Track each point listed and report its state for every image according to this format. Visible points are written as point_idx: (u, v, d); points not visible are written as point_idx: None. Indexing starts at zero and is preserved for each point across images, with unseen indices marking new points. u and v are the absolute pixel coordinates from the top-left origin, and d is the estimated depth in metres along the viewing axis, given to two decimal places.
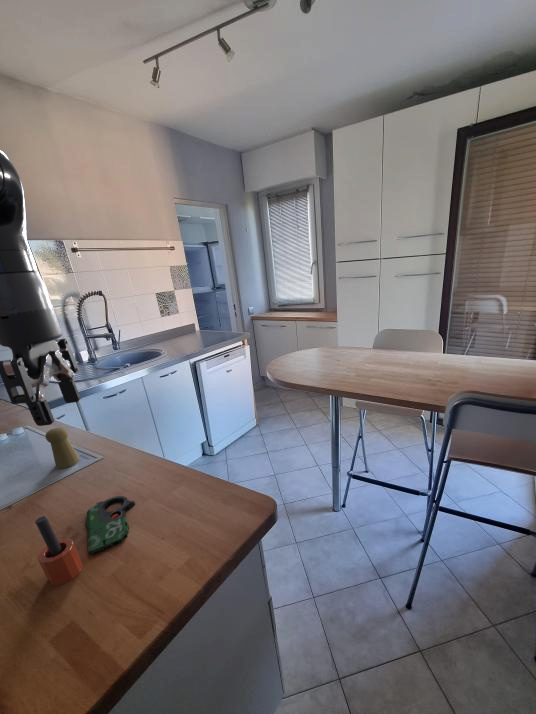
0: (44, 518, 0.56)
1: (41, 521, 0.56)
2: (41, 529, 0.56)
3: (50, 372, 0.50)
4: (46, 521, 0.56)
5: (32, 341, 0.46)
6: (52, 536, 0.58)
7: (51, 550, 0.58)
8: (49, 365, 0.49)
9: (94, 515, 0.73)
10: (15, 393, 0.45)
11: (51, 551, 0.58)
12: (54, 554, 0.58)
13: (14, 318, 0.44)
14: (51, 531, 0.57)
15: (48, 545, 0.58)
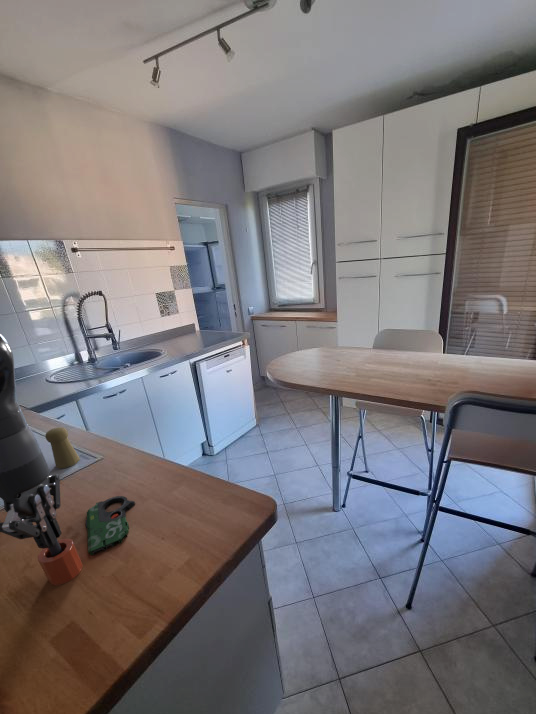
0: (44, 518, 0.56)
1: None
2: None
3: None
4: (46, 521, 0.56)
5: (21, 491, 0.50)
6: None
7: (51, 550, 0.58)
8: (40, 502, 0.54)
9: (94, 515, 0.73)
10: None
11: (51, 551, 0.58)
12: (54, 554, 0.58)
13: (5, 475, 0.49)
14: (51, 531, 0.57)
15: None
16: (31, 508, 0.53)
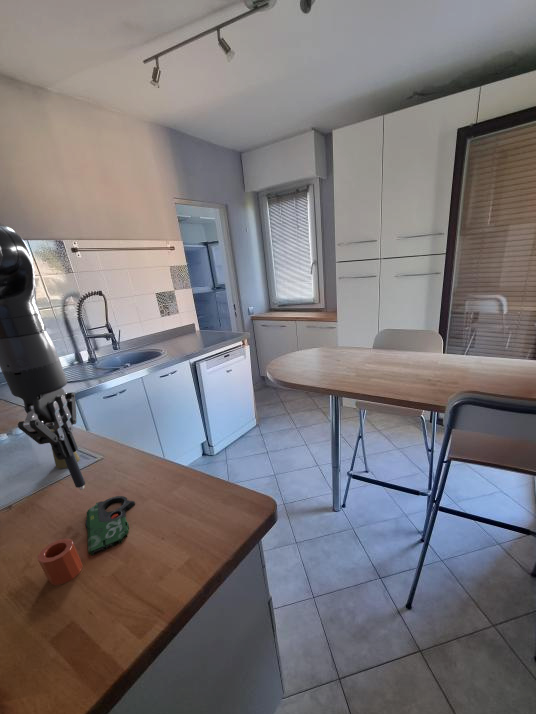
0: None
1: None
2: None
3: None
4: (63, 432, 0.58)
5: (41, 392, 0.52)
6: None
7: (68, 463, 0.59)
8: (58, 409, 0.55)
9: (94, 515, 0.73)
10: (39, 437, 0.54)
11: (68, 464, 0.60)
12: (71, 467, 0.60)
13: (26, 374, 0.50)
14: (68, 443, 0.59)
15: None
16: (50, 414, 0.54)
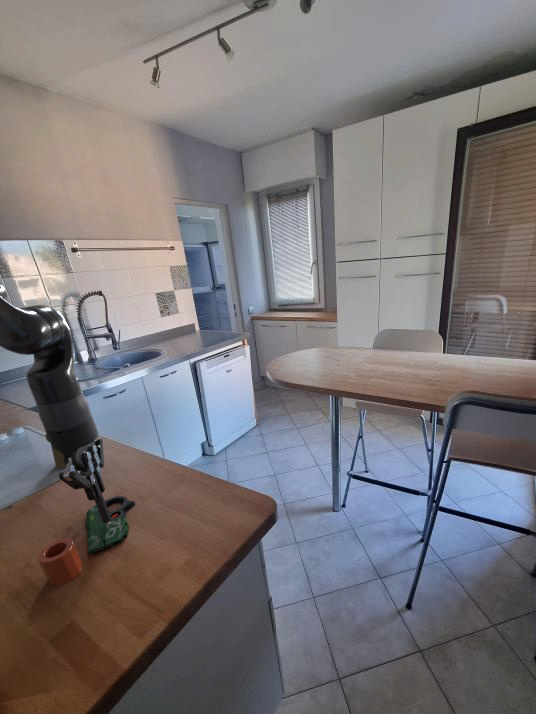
0: None
1: None
2: None
3: None
4: (94, 476, 0.66)
5: (78, 446, 0.60)
6: None
7: (97, 502, 0.67)
8: (90, 458, 0.63)
9: (94, 515, 0.73)
10: None
11: (97, 503, 0.68)
12: (99, 506, 0.68)
13: (66, 432, 0.58)
14: (98, 486, 0.67)
15: None
16: (84, 463, 0.62)
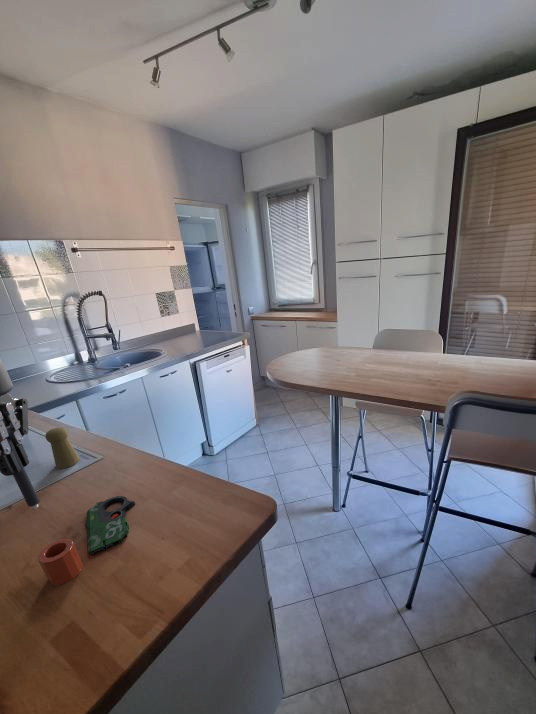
0: (8, 441, 0.51)
1: None
2: None
3: None
4: (11, 444, 0.51)
5: None
6: (18, 463, 0.52)
7: (17, 479, 0.52)
8: (1, 419, 0.48)
9: (94, 515, 0.73)
10: None
11: (17, 480, 0.52)
12: (21, 484, 0.53)
13: None
14: (17, 457, 0.52)
15: None
16: None
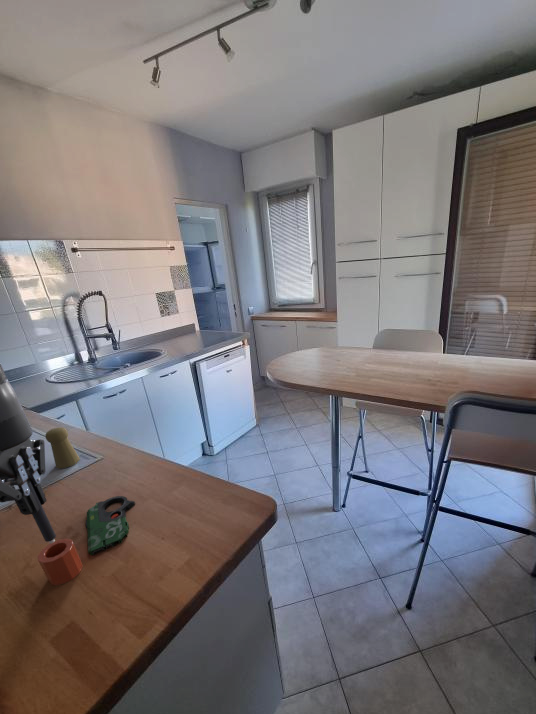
0: (28, 482, 0.54)
1: None
2: None
3: None
4: (30, 485, 0.54)
5: (1, 449, 0.47)
6: None
7: (35, 517, 0.55)
8: (21, 464, 0.51)
9: (94, 515, 0.73)
10: (1, 495, 0.50)
11: (35, 518, 0.55)
12: (39, 521, 0.56)
13: None
14: (36, 497, 0.55)
15: None
16: (12, 469, 0.50)
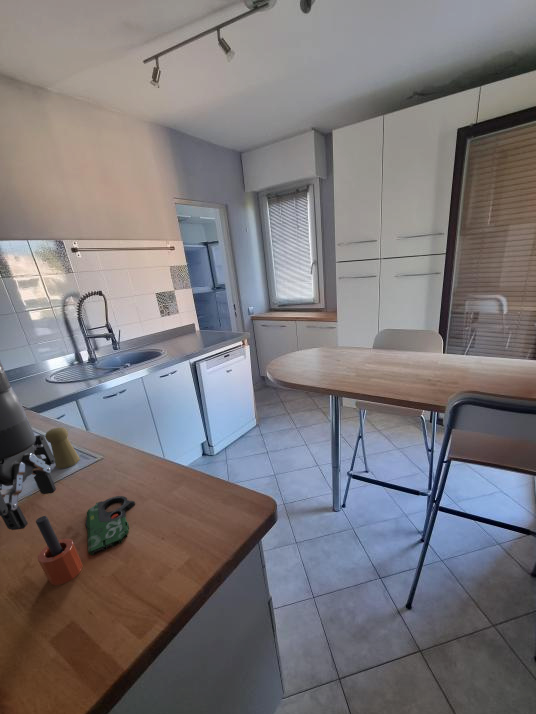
0: (45, 518, 0.56)
1: (42, 521, 0.56)
2: (42, 529, 0.56)
3: (24, 476, 0.52)
4: (47, 521, 0.56)
5: (5, 456, 0.48)
6: (52, 536, 0.58)
7: (51, 550, 0.58)
8: (22, 472, 0.51)
9: (94, 515, 0.73)
10: None
11: (51, 551, 0.58)
12: (54, 554, 0.58)
13: None
14: (52, 531, 0.57)
15: (48, 545, 0.58)
16: None
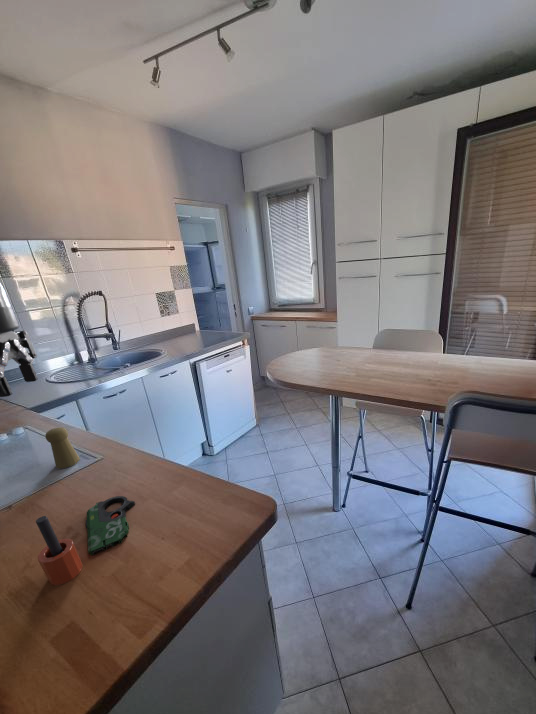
0: (45, 518, 0.56)
1: (42, 521, 0.56)
2: (42, 529, 0.56)
3: (9, 356, 0.65)
4: (47, 521, 0.56)
5: None
6: (52, 536, 0.58)
7: (51, 550, 0.58)
8: (8, 350, 0.63)
9: (94, 515, 0.73)
10: None
11: (51, 551, 0.58)
12: (54, 554, 0.58)
13: None
14: (52, 531, 0.57)
15: (48, 545, 0.58)
16: None
